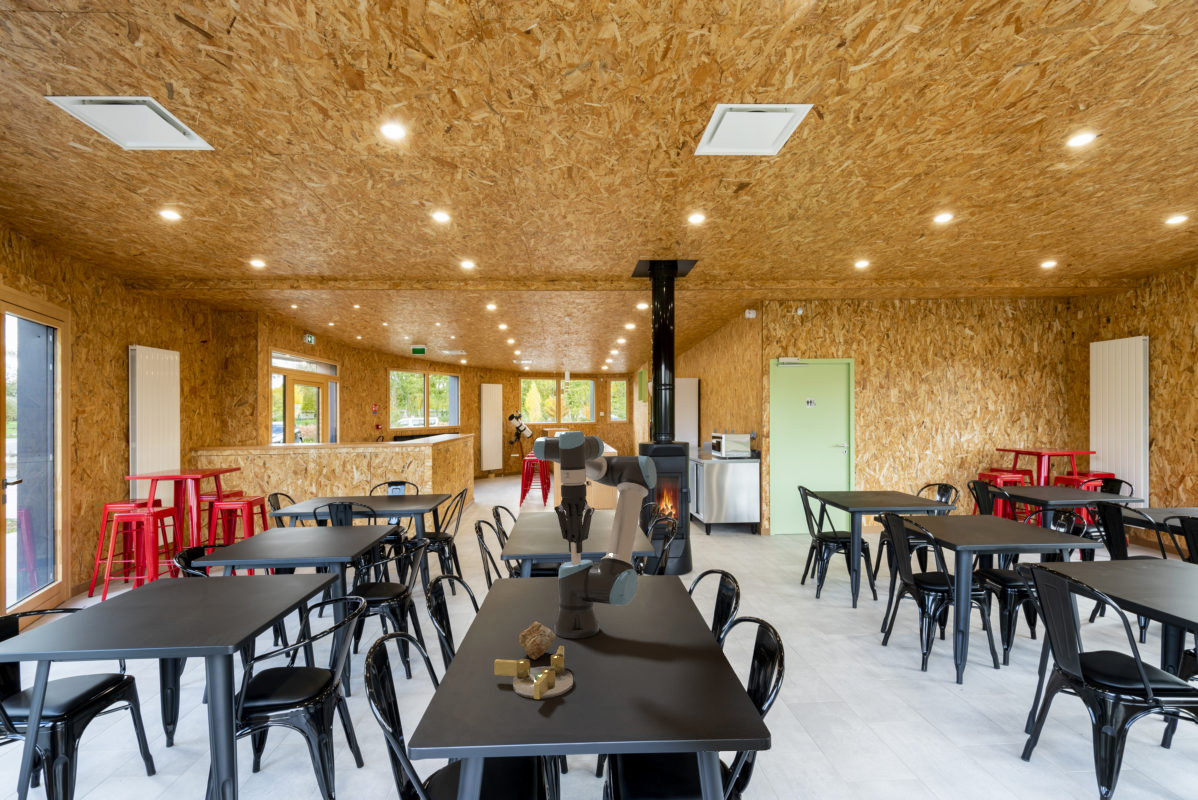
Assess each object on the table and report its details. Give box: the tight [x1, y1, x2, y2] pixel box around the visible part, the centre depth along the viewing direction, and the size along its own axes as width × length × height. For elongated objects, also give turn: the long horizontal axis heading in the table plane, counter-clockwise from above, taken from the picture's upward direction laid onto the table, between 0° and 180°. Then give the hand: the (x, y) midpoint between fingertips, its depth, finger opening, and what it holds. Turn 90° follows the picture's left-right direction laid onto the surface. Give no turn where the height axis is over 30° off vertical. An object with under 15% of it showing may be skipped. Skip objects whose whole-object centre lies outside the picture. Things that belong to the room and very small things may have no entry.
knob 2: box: [533, 668, 555, 700], centre depth 146 cm, size 10×4×4 cm, turn 164°
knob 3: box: [550, 645, 565, 674], centre depth 162 cm, size 10×4×4 cm, turn 175°
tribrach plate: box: [512, 665, 574, 699], centre depth 154 cm, size 16×16×3 cm
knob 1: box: [493, 658, 531, 679], centre depth 156 cm, size 10×4×4 cm, turn 80°
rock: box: [518, 621, 557, 661], centre depth 174 cm, size 12×10×10 cm
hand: (576, 563), depth 169 cm, fingers closed
